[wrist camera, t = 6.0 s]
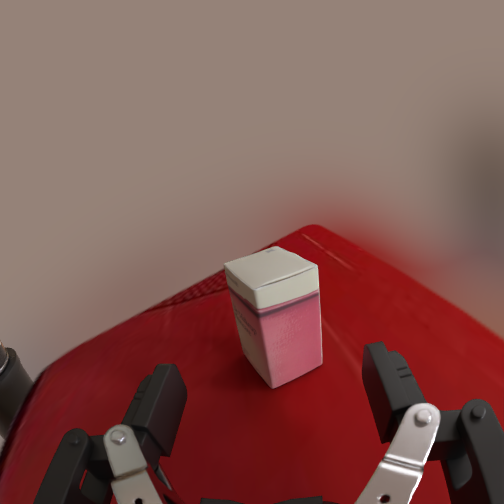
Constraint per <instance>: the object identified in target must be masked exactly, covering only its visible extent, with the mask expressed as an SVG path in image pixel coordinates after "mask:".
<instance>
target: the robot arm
mask: <svg viewBox="0 0 504 504" xmlns="http://www.w3.org/2000/svg"><path fill="white" fill-rule="evenodd" d="M9 361H10V356H9V354H8V352H7V351H6V350H5V348H4V346H3V345H2V343H1V341H0V376H1V375H2V374H3V372H4V371H5V370H6V368H7V366H8V364H9ZM362 379H363V384H364V387H365V390H366V393H367V396H368V400H369V403H370V406H371V409H372V413H373V416H374V419H375V423H376V426H377V429H378V433H379V436H380V440H381V444H383V443H386V442H390V447H389V449H388V451H387V452H386V454H385V456H384V458H383V459H382V460H381V462H380V464H379V465H378V467H377V469H376V471H375V472H374V474H373V476H372V477H371V479H370V481H369V482H368V484H367V485H366V487H365V489H364V490H363V492H362V493H361V495H360V496H359V498H358V499H357V501H356V502H355V504H408V503H409V501H410V499H411V497H412V495H413V493H414V491H415V489H416V487H417V485H418V483H419V481H420V479H421V476H422V474H423V471H424V469H423V467H424V464H425V462H426V461H435V460H440V462H441V465H442V469H443V472H444V476H445V480H446V484H447V487H448V492H449V496H450V500H451V504H504V432H503V430H502V428H501V426H500V423H499V421H498V419H497V417H496V415H495V413H494V411H493V409H492V407H491V406H490V405H489V403H487V402H486V401H484V400H481V399H473V400H470V401H468V402H467V403H466V404H465V405H464V406H463V408H462V410H450V411H441V410H438V409H437V408H436V407H435V406H433V405H431V404H428V403H427V402H426V400H425V398H424V396H423V394H422V392H421V390H420V388H419V386H418V384H417V382H416V380H415V378H414V376H413V375H412V372H411V370H410V368H409V367H408V364H407V362H406V360H405V358H404V357H403V356H402V355H400V354H399V353H398V352H397V351H391V352H388V351H387V349H386V347H385V345H384V343H383V342H382V341H380V342H376V343H371V344H366V345H365V346H364V353H363V365H362ZM133 398H134V399H133V400H132V402H131V404H130V406H129V408H128V410H127V412H126V414H125V417H124V419H123V421H122V423H121V425H116V426H113V427H111V428H110V429H109V430H108V431H107V432H106V433H105V435H97V436H88V434H87V433H86V432H85V431H84V430H82V429H78V428H76V429H72V430H70V431H68V432H67V433H66V434H65V435H64V436H63V438H62V440H61V442H60V444H59V446H58V449H57V451H56V453H55V455H54V457H53V459H52V461H51V463H50V465H49V468H48V470H47V472H46V474H45V477H44V479H43V481H42V483H41V486H40V488H39V490H38V493H37V495H36V498H35V500H34V503H33V504H110V502H111V499H112V495H113V492H114V495H115V497H116V500H117V502H118V504H185V503H184V502H183V501H182V500H181V498H180V497H179V496H178V494H177V493H176V491H175V490H174V488H173V486H172V484H171V483H170V481H169V479H168V477H167V475H166V473H165V472H164V470H163V468H162V466H161V464H160V462H159V459H160V456H167V457H170V455H171V451H172V448H173V444H174V441H175V438H176V434H177V431H178V427H179V424H180V421H181V417H182V414H183V411H184V407H185V404H186V401H187V389H186V386H185V384H184V382H183V379H182V377H181V375H180V373H179V370H178V368H177V366H176V365H175V364H158V365H157V366H156V368H155V370H154V372H153V374H152V375H148V376H147V377H146V378H145V379H144V380H143V381H142V382H141V383H140V385H139V387H138V389H137V393H135V395H134V397H133ZM85 469H86V470H87V473H86V476H85V479H84V481H83V484H82V487H81V490H80V489H79V485H80V482H81V479H82V476H83V474H84V471H85ZM200 504H243V503H239V502H235V501H231V500H220V499H207V498H201V502H200ZM275 504H338V503H334V502H327V501H322V496H316V497H308V498H298V499H290V500H286V501H283V502H279V503H275Z"/></svg>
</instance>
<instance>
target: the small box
mask: <svg viewBox="0 0 504 504" xmlns="http://www.w3.org/2000/svg"><path fill="white" fill-rule="evenodd" d="M224 269H225V273H226V278H227V283H228V287H229V291H230V296H231V301H232V305H233V309H234V314H235V318H236V323H237V327H238V332H239V336H240V340H241V345H242V349H243V353H244V354H245V356H246V357H247V359H248V360H249V362H250V363H251V364H252V366H253V367H254V369H255V370H256V371H257V372H258V373H259V375H260V376H261V377H262V378H263V379H264V381H265V382H266V383H267V384H268V385H269V386H270V388H272V389H274V388H276V387H278V386H281V385H283V384H285V383H287V382H289V381H291V380H293V379H295V378H297V377H299V376H301V375H303V374H305V373H307V372H309V371H311V370H313V369H314V368H316V367H318V366H320V365H321V364H322V336H321V314H320V296H319V280H318V267H317V265H316V264H314V263H311V262H310V261H308V260H305V259H303V258H301V257H300V256H298V255H297V254H294V253H291V252H289V251H286V250H284V249H282V248H280V247H278V246H276V247H272V248H269V249H266V250H263V251H260V252H258V253H254V254H251V255H248V256H245V257H242V258H239V259H236V260H233V261H229V262H226V263H224Z"/></svg>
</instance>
